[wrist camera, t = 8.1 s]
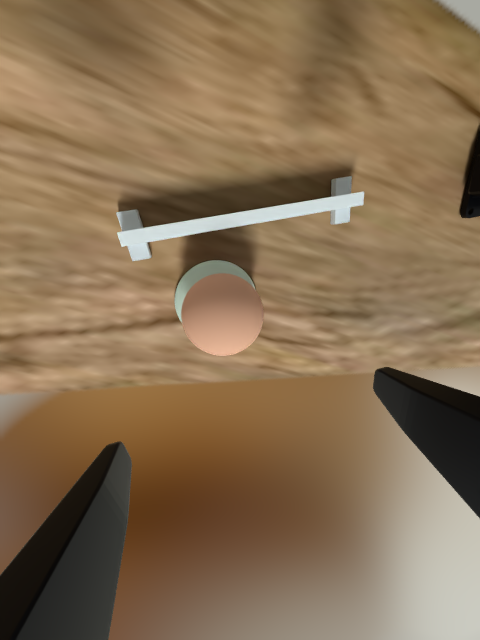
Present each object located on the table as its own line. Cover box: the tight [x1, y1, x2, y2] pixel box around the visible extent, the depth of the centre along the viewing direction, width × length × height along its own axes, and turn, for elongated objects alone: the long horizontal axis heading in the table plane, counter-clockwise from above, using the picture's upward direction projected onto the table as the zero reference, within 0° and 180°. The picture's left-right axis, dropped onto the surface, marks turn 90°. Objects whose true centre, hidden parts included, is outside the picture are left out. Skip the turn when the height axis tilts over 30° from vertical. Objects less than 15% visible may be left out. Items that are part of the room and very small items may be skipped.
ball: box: [181, 273, 264, 356], centre depth 16 cm, size 6×6×6 cm
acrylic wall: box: [116, 176, 364, 261], centre depth 16 cm, size 16×3×2 cm, turn 99°
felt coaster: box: [175, 260, 255, 322], centre depth 19 cm, size 6×6×1 cm
